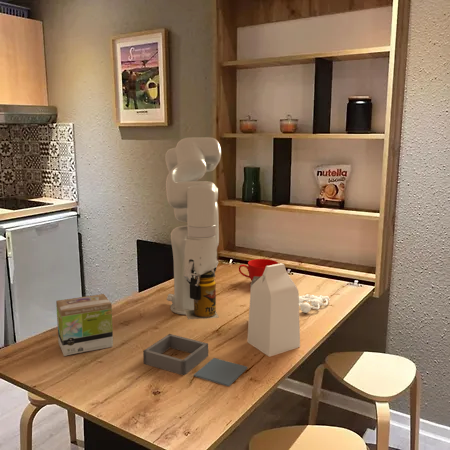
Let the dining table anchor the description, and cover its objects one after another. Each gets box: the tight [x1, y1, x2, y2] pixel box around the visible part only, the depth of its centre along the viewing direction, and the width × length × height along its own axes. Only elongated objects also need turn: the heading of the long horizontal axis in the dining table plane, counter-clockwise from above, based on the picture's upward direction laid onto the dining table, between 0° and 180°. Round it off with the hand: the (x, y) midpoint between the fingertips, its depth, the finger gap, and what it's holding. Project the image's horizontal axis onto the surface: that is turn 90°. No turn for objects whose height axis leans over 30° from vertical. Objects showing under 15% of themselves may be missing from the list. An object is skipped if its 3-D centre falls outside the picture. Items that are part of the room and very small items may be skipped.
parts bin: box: [142, 333, 209, 376], centre depth 141 cm, size 14×13×4 cm
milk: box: [247, 262, 301, 357], centre depth 149 cm, size 12×12×26 cm
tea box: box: [55, 293, 114, 357], centre depth 149 cm, size 15×10×15 cm, turn 117°
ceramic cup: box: [238, 258, 279, 282], centre depth 206 cm, size 13×17×10 cm
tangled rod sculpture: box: [299, 293, 331, 314], centre depth 185 cm, size 19×14×4 cm
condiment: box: [185, 271, 219, 320], centre depth 132 cm, size 7×8×12 cm
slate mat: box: [193, 357, 248, 387], centre depth 135 cm, size 11×11×1 cm
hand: (202, 294), depth 133 cm, fingers closed on condiment, 6 cm apart
